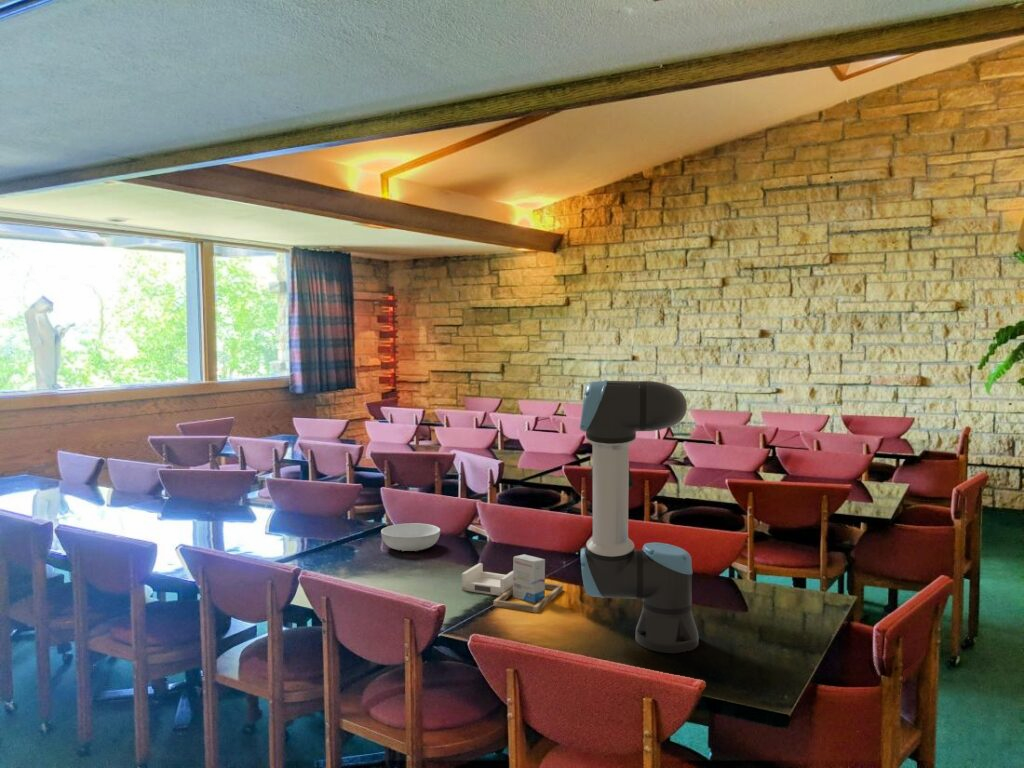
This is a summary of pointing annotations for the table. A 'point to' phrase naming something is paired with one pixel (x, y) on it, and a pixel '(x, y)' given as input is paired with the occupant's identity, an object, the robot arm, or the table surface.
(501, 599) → the tray frame
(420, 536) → the serving bowl
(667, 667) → the table surface
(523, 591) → the ink box
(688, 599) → the robot arm
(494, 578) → the tray
